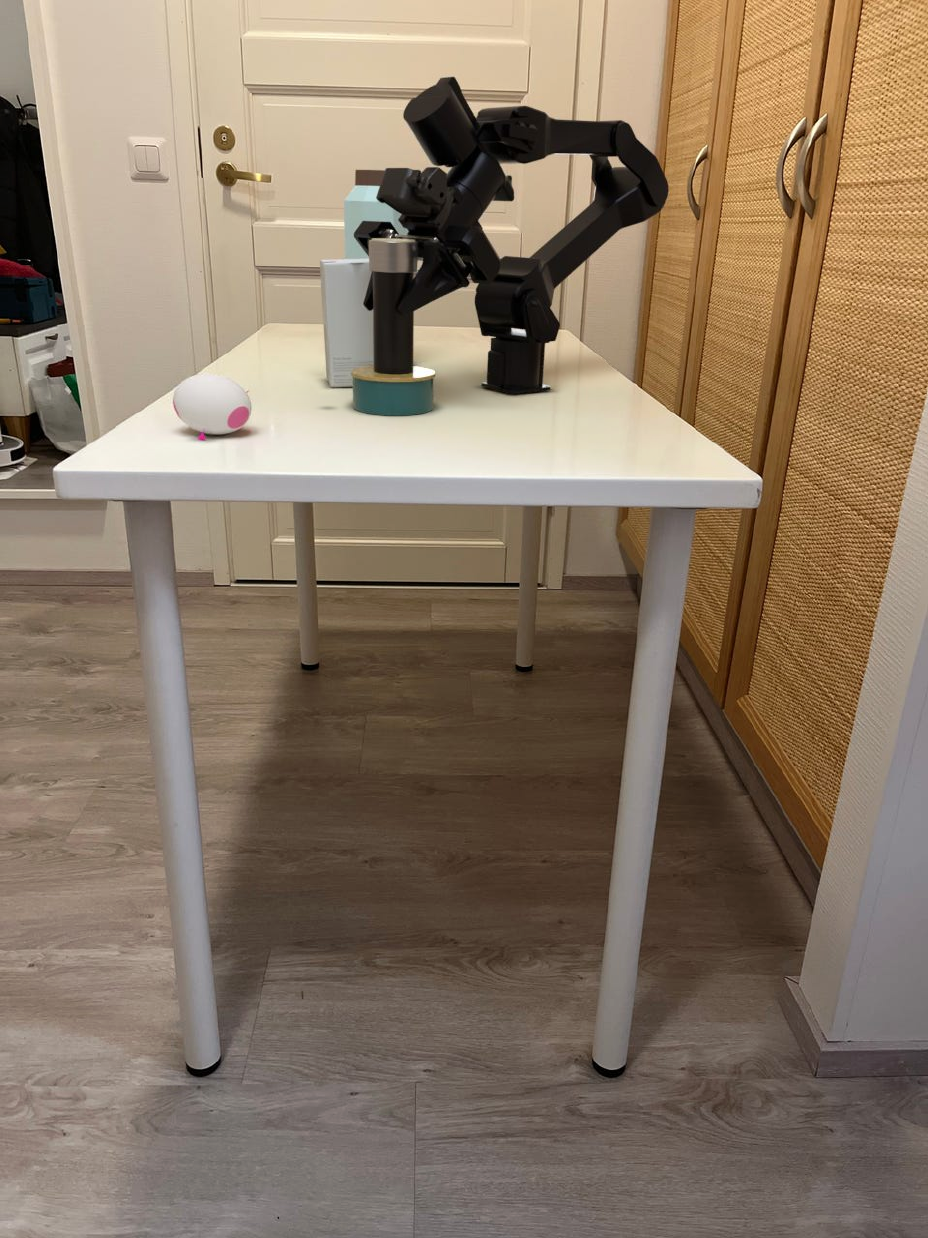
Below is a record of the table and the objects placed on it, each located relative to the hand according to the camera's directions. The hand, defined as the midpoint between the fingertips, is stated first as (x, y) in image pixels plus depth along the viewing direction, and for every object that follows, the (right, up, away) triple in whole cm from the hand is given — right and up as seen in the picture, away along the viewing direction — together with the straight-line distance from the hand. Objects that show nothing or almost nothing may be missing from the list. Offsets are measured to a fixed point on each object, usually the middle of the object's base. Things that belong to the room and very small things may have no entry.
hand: (383, 310), depth 102 cm
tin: (+1, -9, +5) cm, 11 cm away
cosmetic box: (-5, -4, +18) cm, 19 cm away
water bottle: (-3, +3, +34) cm, 34 cm away
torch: (+1, -6, +4) cm, 7 cm away
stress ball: (-15, -15, -9) cm, 23 cm away
